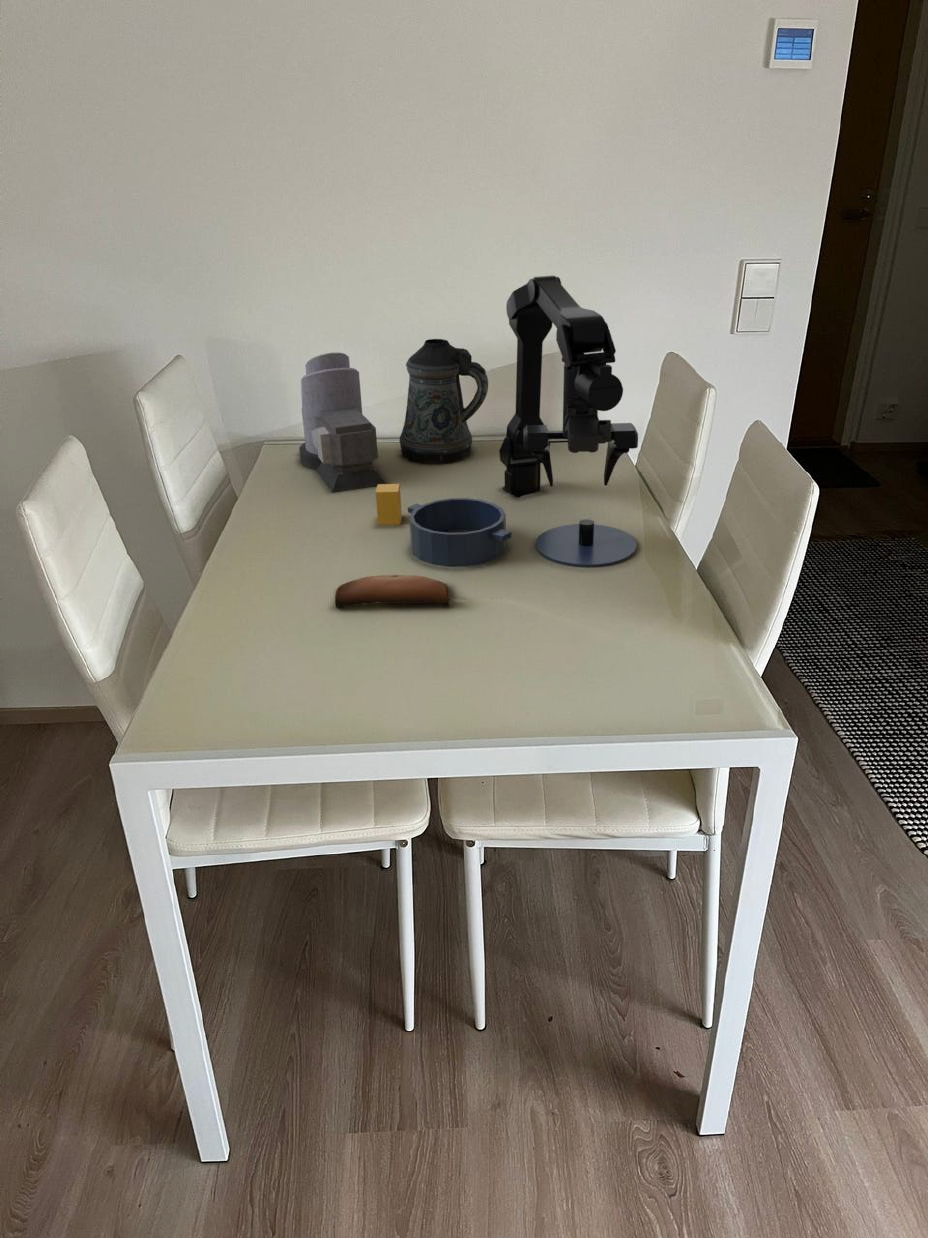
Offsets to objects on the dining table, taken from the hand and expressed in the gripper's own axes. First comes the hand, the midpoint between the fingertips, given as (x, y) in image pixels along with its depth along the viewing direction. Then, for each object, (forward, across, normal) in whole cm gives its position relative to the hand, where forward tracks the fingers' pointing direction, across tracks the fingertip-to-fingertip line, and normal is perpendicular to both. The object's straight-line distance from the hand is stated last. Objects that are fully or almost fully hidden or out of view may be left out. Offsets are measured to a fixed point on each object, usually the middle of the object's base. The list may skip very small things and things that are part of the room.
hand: (578, 485), depth 164 cm
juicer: (+12, -48, +46) cm, 67 cm away
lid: (+11, +2, 0) cm, 11 cm away
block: (+12, -34, +13) cm, 38 cm away
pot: (+12, -21, 0) cm, 24 cm away
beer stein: (+12, -26, +54) cm, 61 cm away
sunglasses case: (+12, -31, -18) cm, 38 cm away
